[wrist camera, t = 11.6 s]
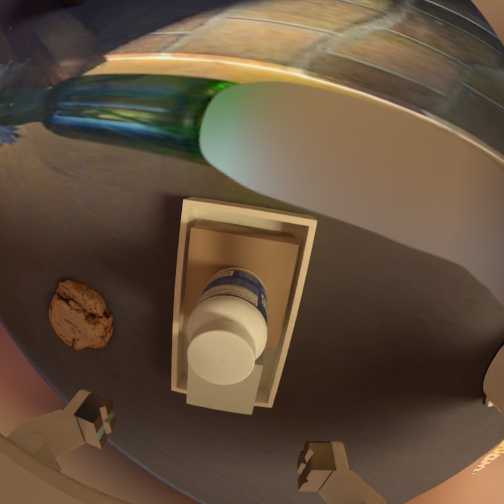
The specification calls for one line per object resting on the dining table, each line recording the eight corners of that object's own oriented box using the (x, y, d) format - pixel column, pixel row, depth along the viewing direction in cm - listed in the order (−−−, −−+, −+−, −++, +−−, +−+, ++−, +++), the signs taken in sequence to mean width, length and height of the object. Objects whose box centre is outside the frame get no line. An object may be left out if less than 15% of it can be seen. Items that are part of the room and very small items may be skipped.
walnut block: (293, 233, 29) (299, 245, 24) (275, 323, 31) (276, 348, 27) (203, 219, 29) (191, 227, 24) (193, 309, 31) (182, 332, 27)
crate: (311, 215, 29) (317, 220, 26) (271, 389, 35) (271, 407, 31) (192, 196, 29) (183, 199, 26) (178, 373, 35) (171, 390, 31)
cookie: (45, 307, 34) (33, 316, 31) (77, 262, 32) (64, 269, 29) (90, 359, 35) (80, 370, 33) (129, 322, 34) (119, 333, 31)
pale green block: (263, 333, 32) (263, 365, 26) (253, 381, 34) (251, 414, 28) (201, 323, 32) (189, 352, 26) (197, 371, 34) (186, 403, 28)
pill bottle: (257, 329, 26) (252, 402, 17) (199, 312, 26) (169, 379, 17) (275, 275, 25) (280, 334, 15) (214, 257, 25) (183, 306, 15)
